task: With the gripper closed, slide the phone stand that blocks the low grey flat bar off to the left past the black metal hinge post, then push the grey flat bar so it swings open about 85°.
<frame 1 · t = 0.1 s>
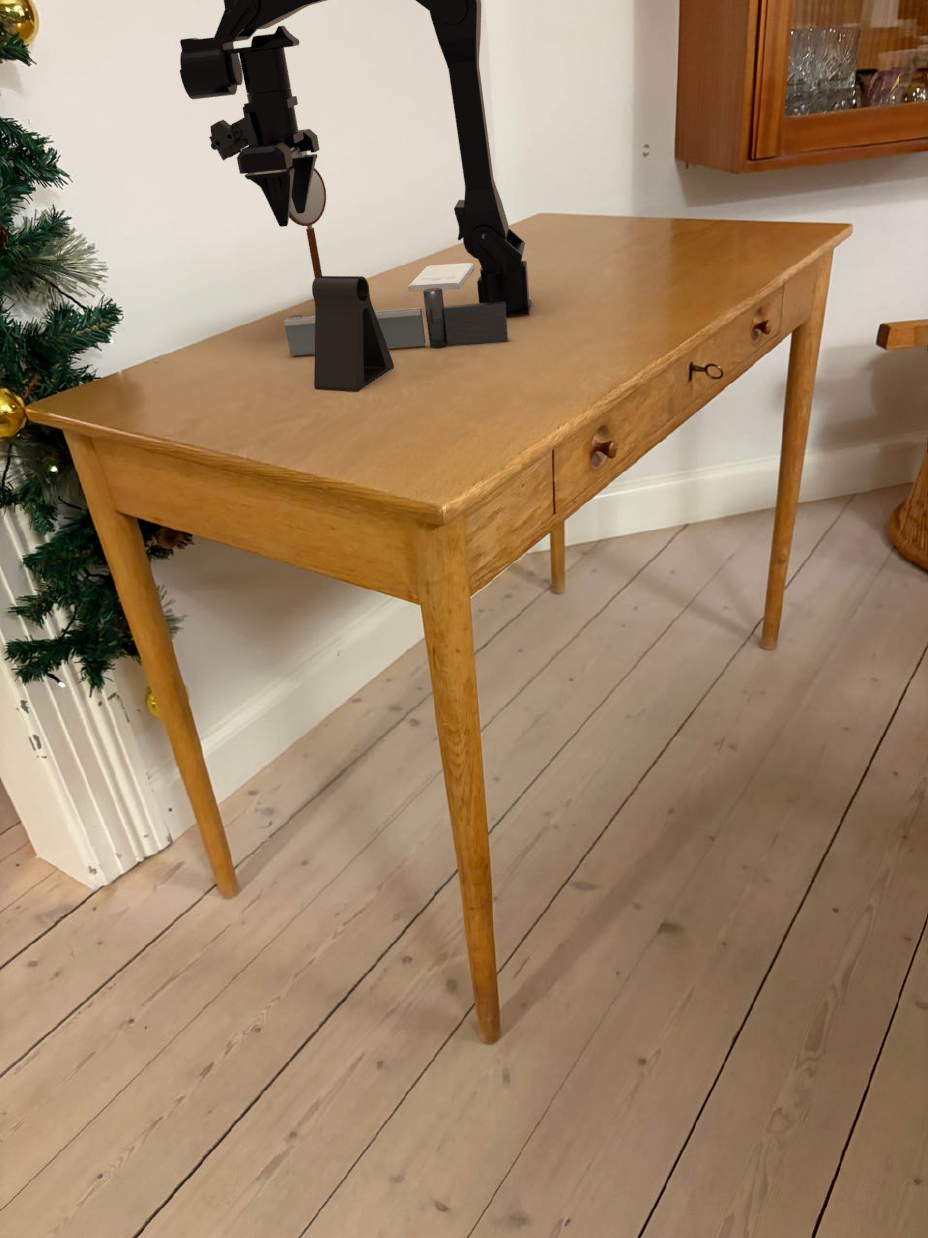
hand: (292, 219, 135), 15 cm above the table, tool pointing down, fingers open, 9 cm apart
grey flat bar: (355, 331, 128), point 3 cm above the table, hinge at 0.0°
magnifying glass: (323, 302, 154), on the table
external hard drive: (442, 284, 159), on the table
gate frame: (439, 345, 128), on the table
phone stand: (355, 379, 120), on the table
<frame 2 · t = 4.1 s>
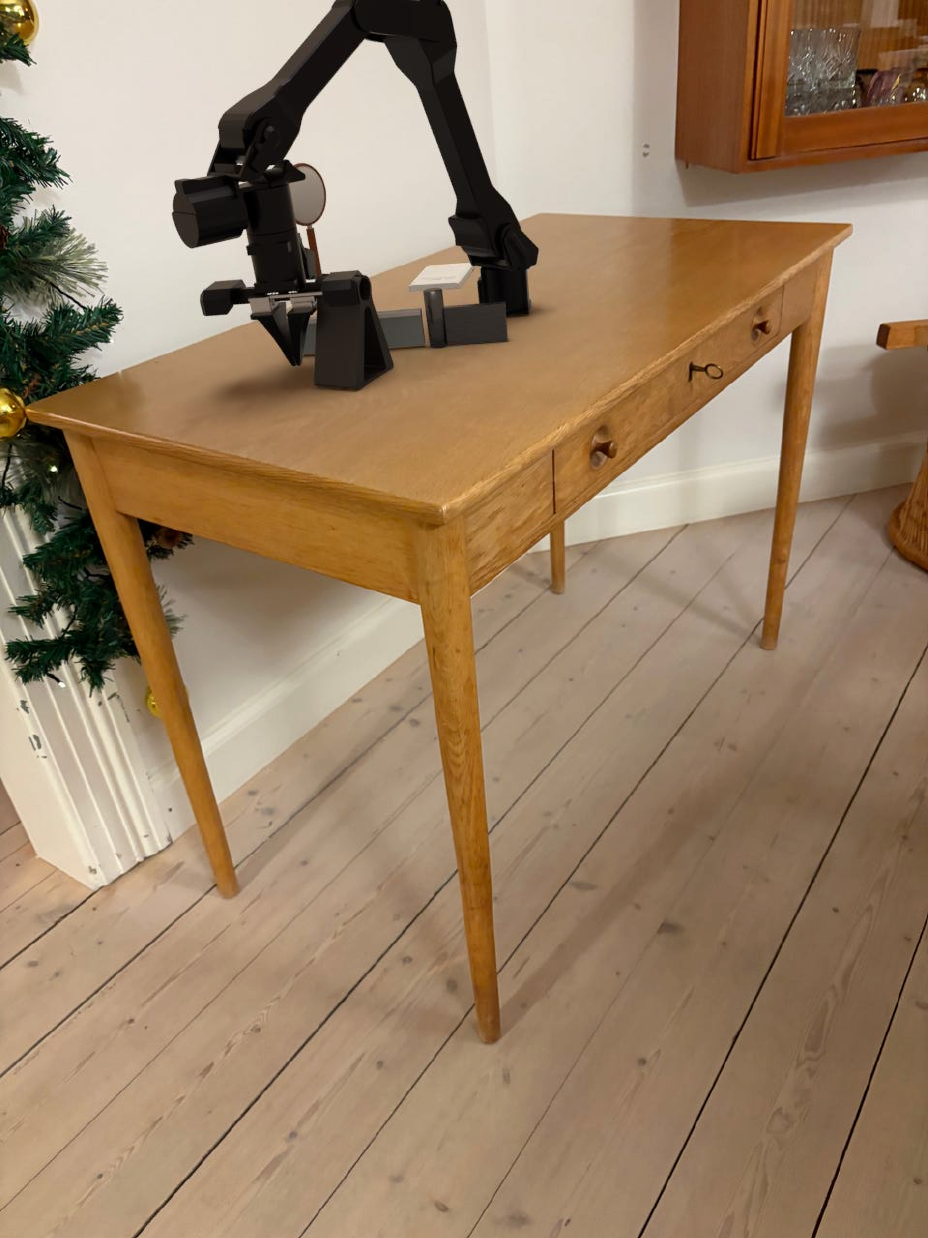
hand: (297, 365, 120), 2 cm above the table, tool pointing down, fingers closed, pressing on phone stand
phone stand: (355, 378, 120), on the table, touching gripper
everything else where it was.
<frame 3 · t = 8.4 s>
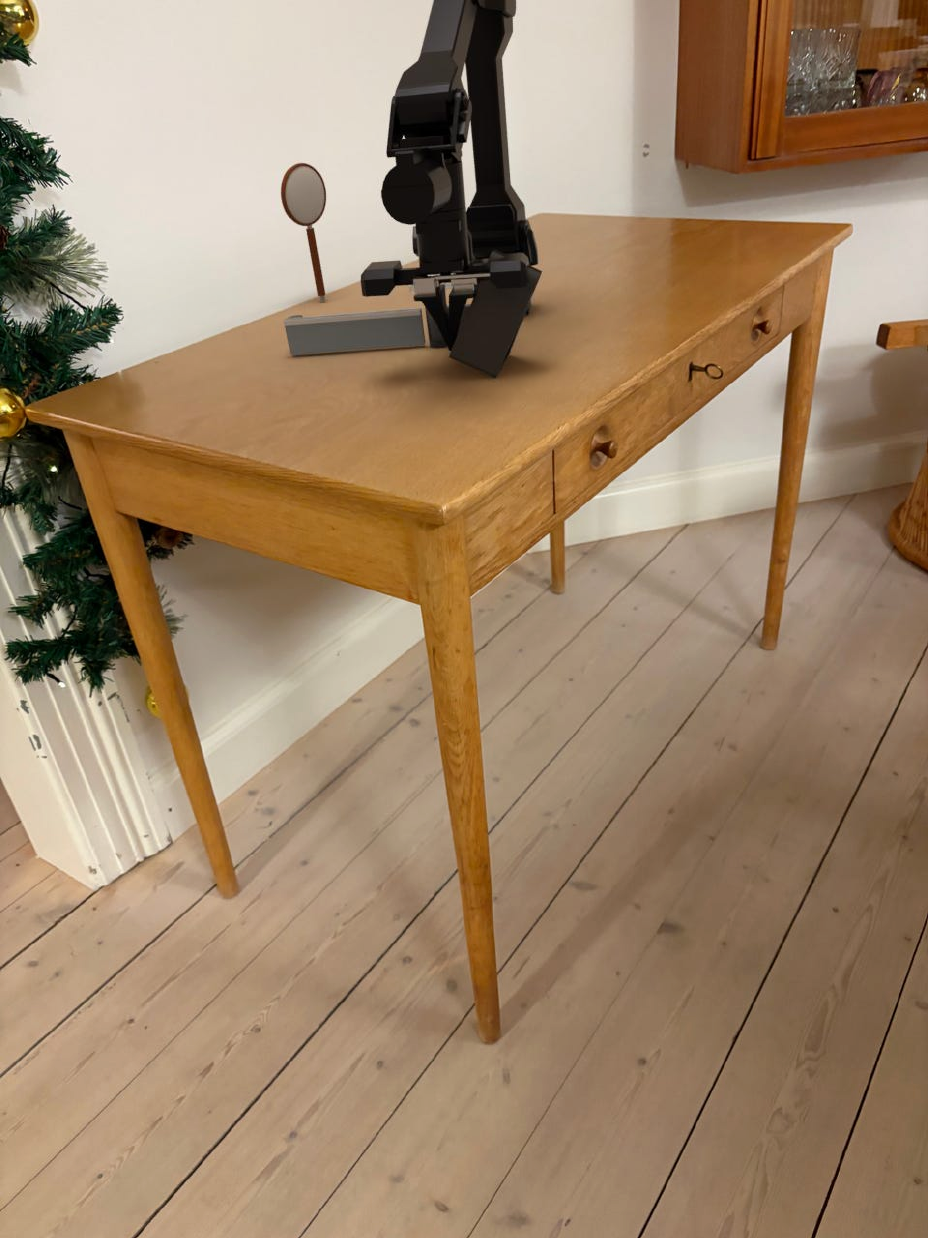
hand: (452, 350, 116), 3 cm above the table, tool pointing down, fingers closed, pressing on phone stand
phone stand: (479, 357, 118), point 1 cm above the table, touching gripper
everything else where it was.
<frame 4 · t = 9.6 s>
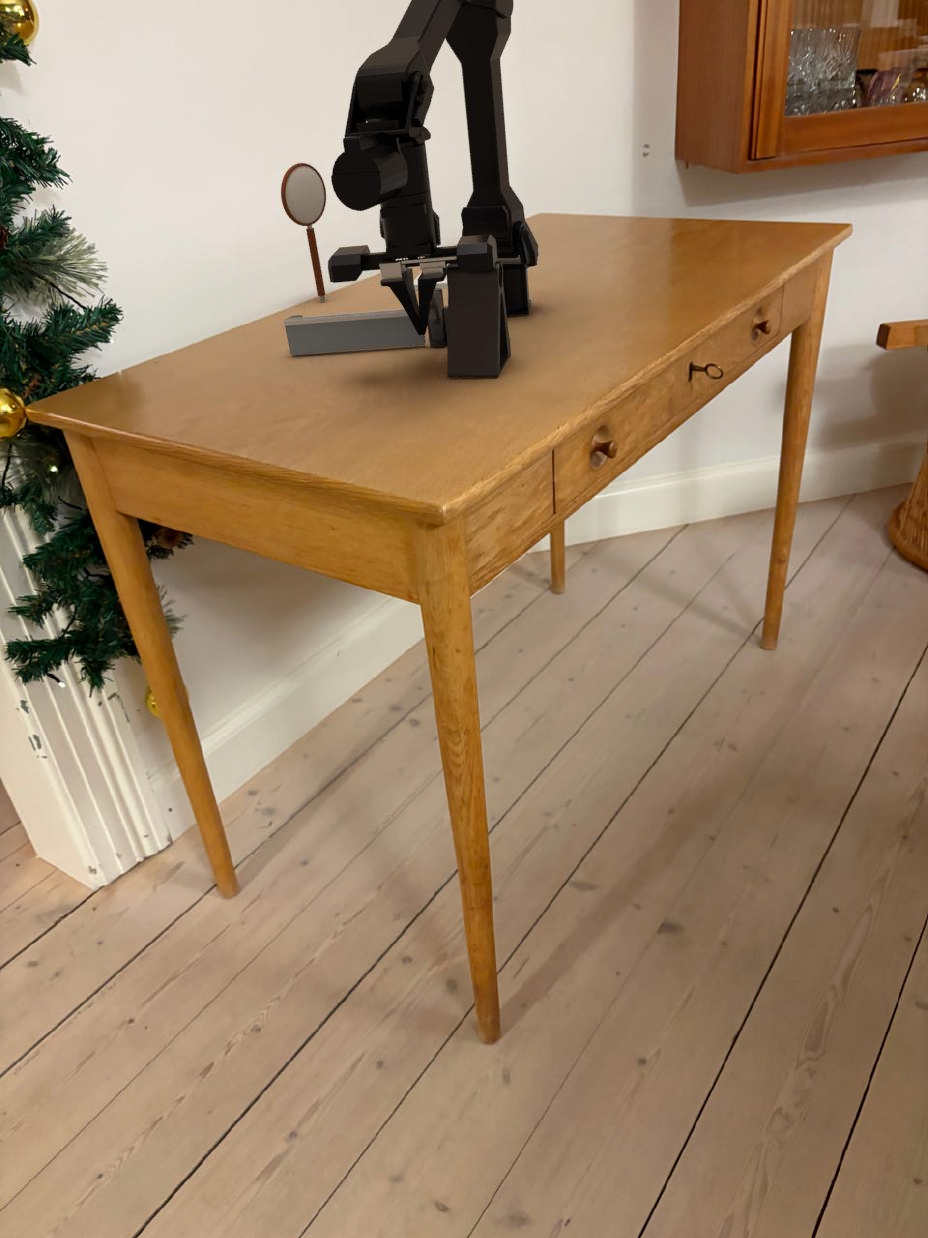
hand: (422, 334, 116), 5 cm above the table, tool pointing down, fingers closed
phone stand: (480, 367, 118), on the table
everything else where it was.
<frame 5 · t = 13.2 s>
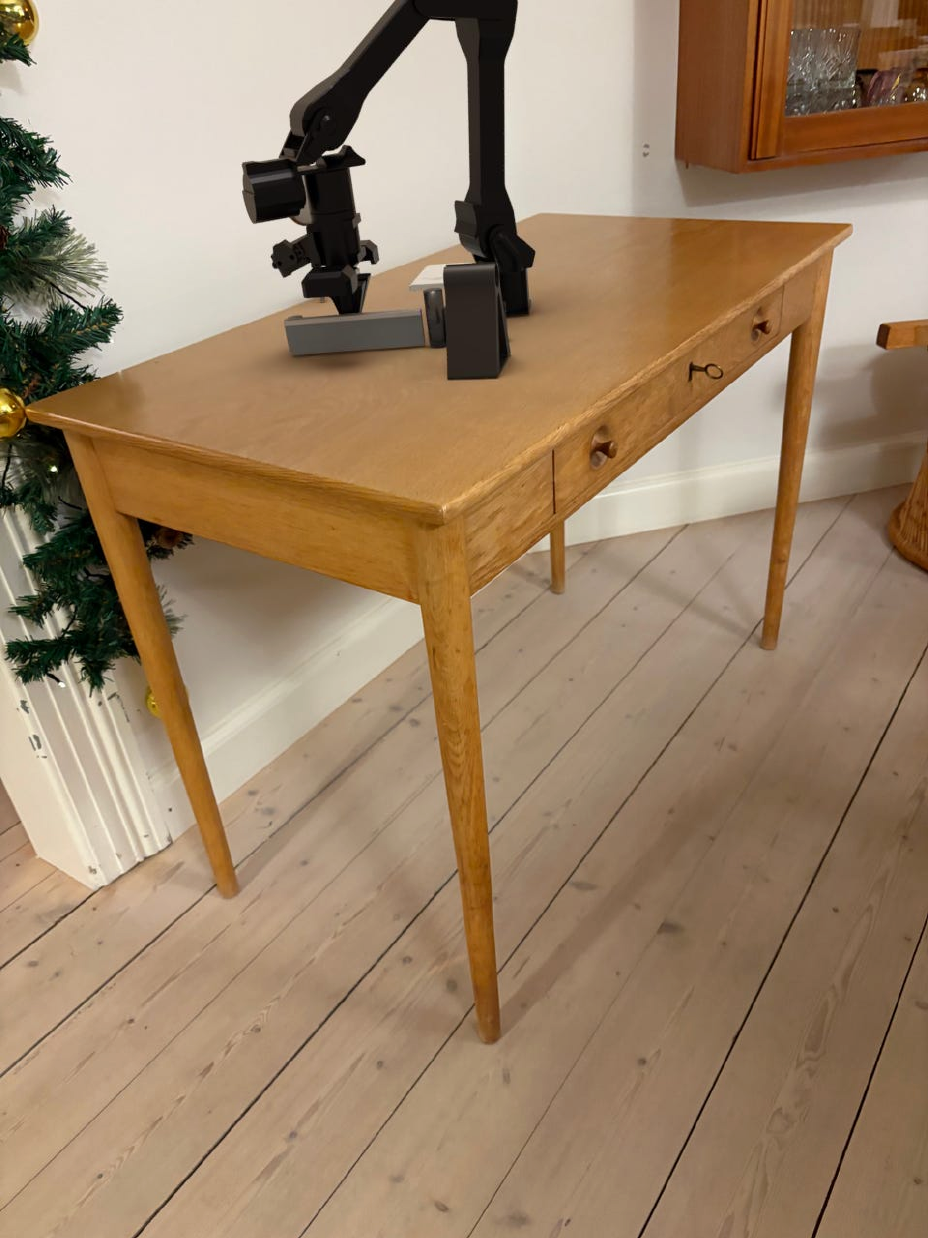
hand: (352, 334, 131), 2 cm above the table, tool pointing down, fingers closed
grey flat bar: (354, 331, 128), point 3 cm above the table, hinge at 0.4°, touching gripper
everything else where it was.
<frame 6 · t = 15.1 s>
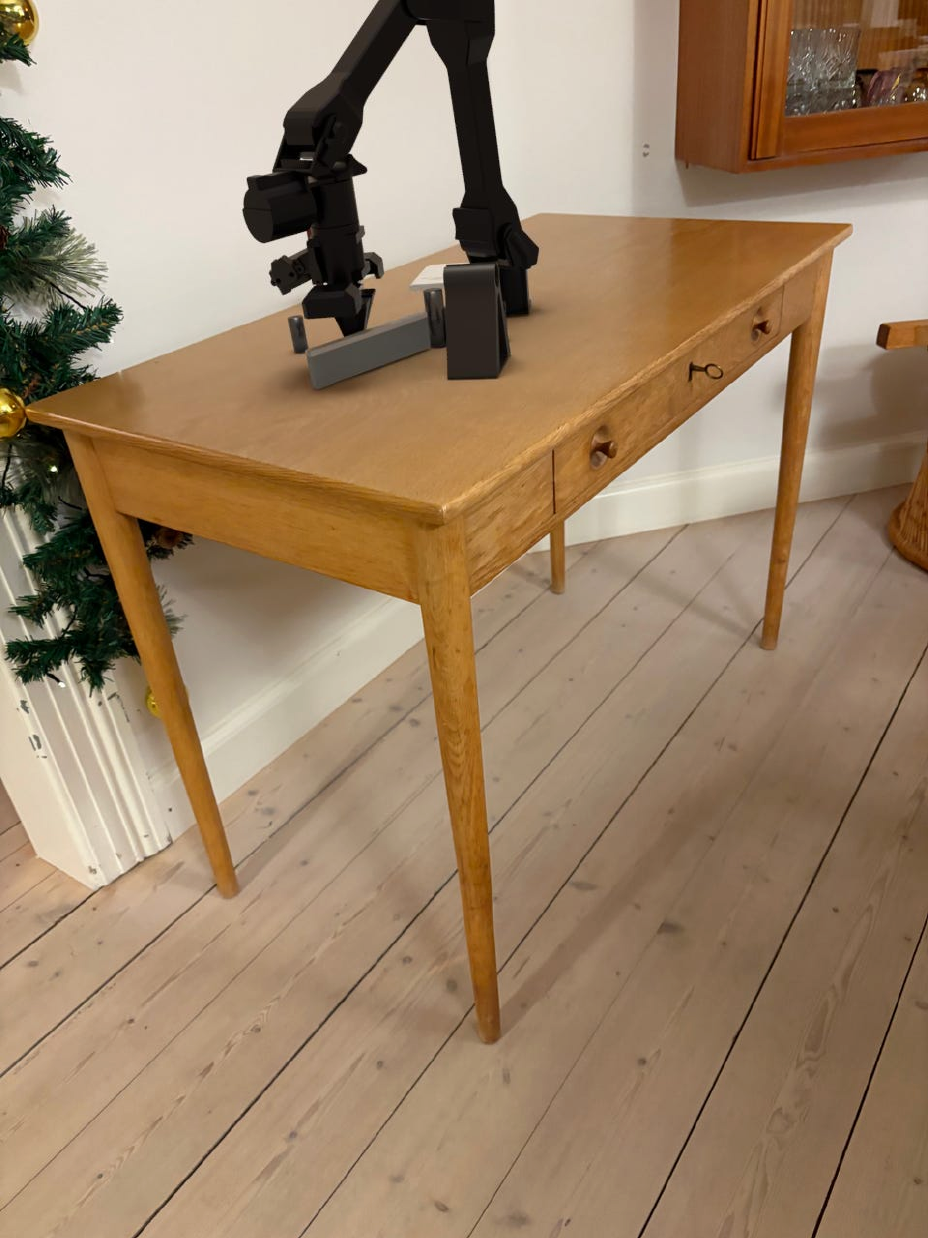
hand: (356, 353, 123), 2 cm above the table, tool pointing down, fingers closed
grey flat bar: (371, 348, 121), point 3 cm above the table, hinge at 48.6°, touching gripper
everything else where it was.
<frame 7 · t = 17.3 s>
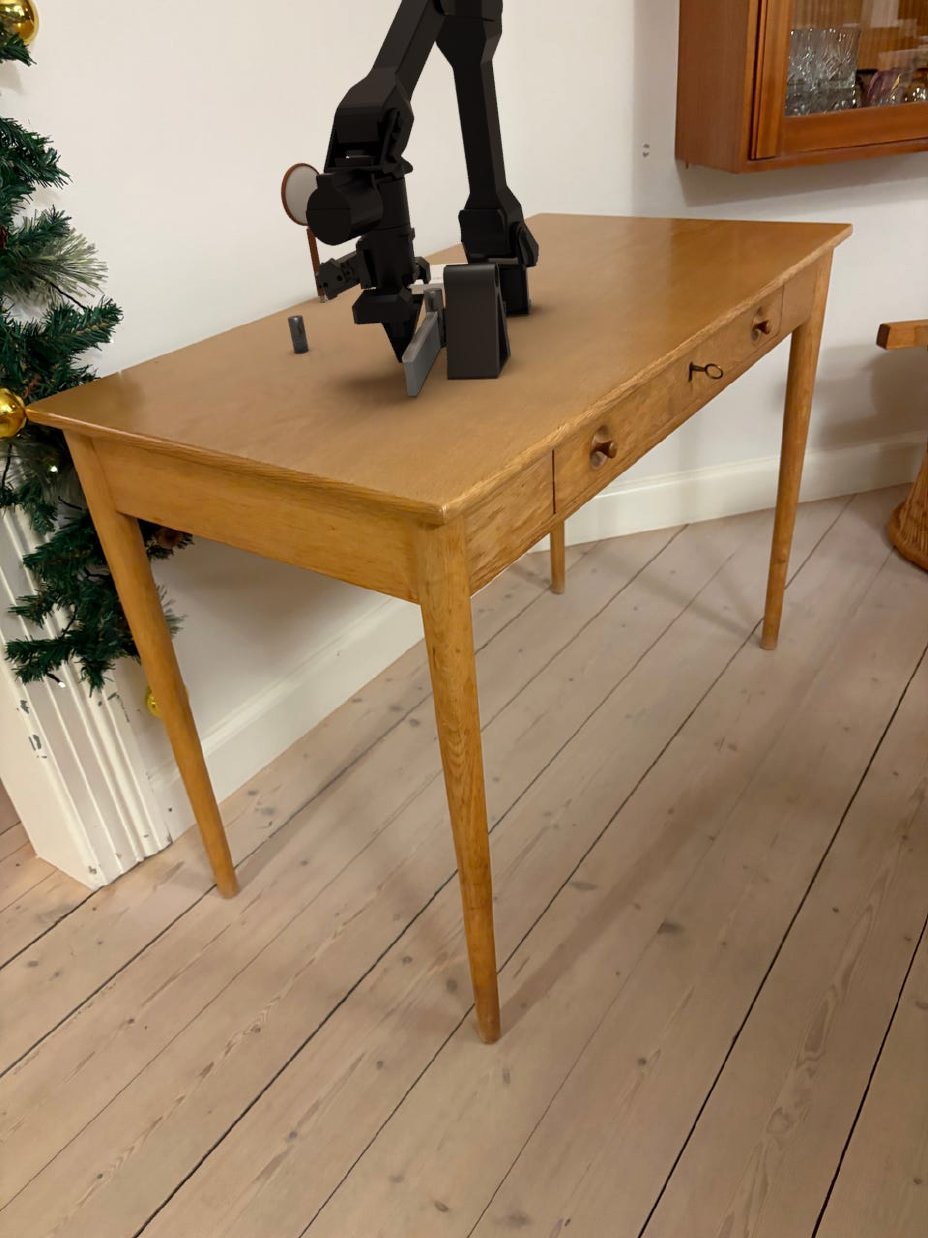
hand: (403, 361, 118), 2 cm above the table, tool pointing down, fingers closed
grey flat bar: (423, 351, 117), point 3 cm above the table, hinge at 88.5°
everything else where it was.
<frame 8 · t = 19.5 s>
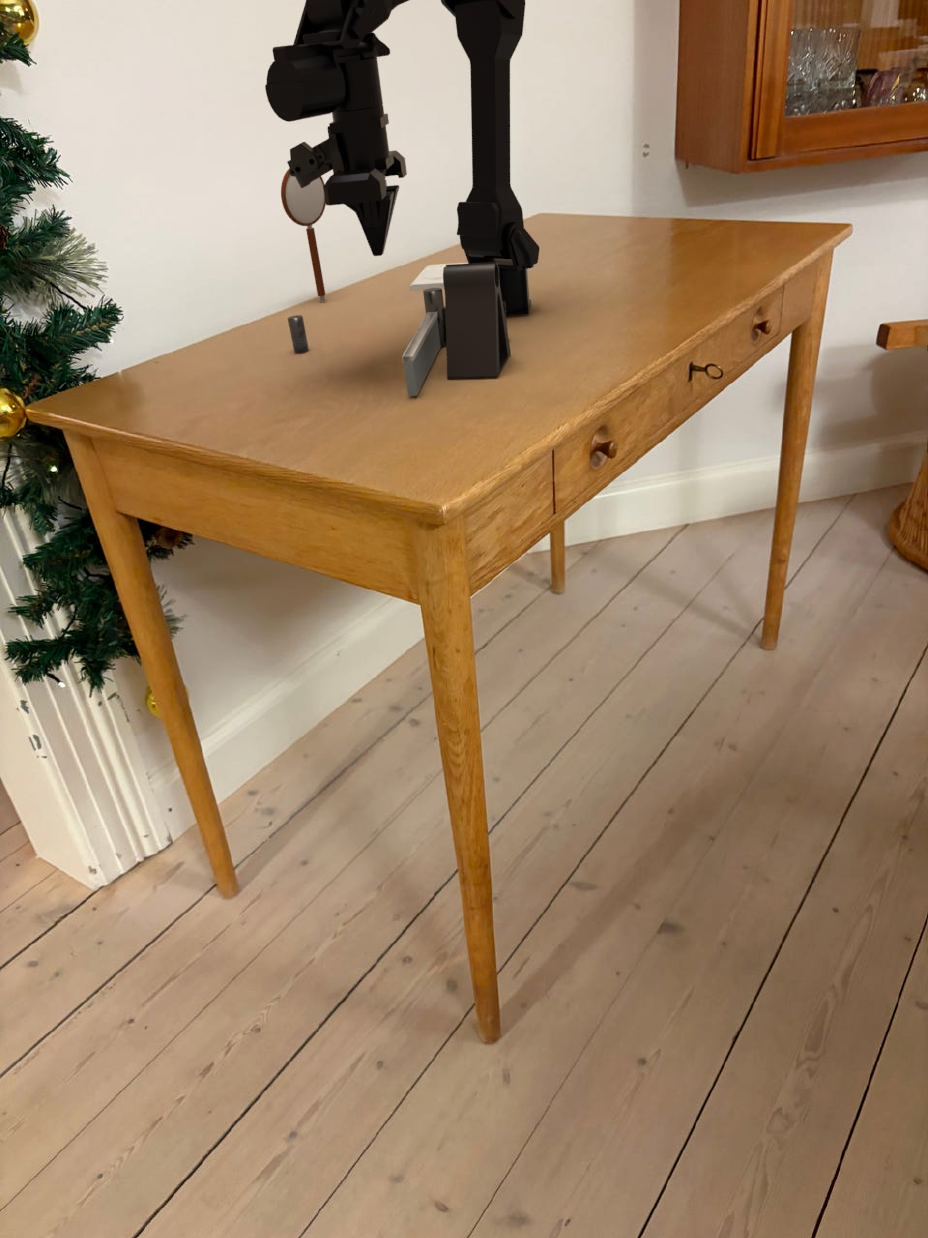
hand: (378, 255, 117), 13 cm above the table, tool pointing down, fingers closed
nothing on the table moved.
at the end: grey flat bar at +88° (first picture: +0°); phone stand inside the target area (2.8 cm from its centre), on the table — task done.
